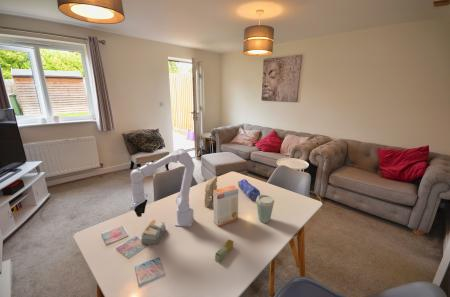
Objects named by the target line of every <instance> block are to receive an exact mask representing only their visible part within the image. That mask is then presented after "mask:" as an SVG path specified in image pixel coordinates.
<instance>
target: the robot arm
mask: <svg viewBox="0 0 450 297" xmlns="http://www.w3.org/2000/svg"><path fill="white" fill-rule="evenodd" d="M169 163H175V164H178V163H180V165H183V166H184V171H183V175H182V181H181V186H180V191H179V193H178V196H177V197H176V198H175V203H176V205H177V206H176V209H175V211H176V222H175V223H174V226H175V227H187V228H188V227H189V228H191V227H192V224H193V222H194V220H195V216H194V209H193V208H190V196H189V195H190V190H191V185H192V181H193V175H194V172H195V168H196V167H195V163H194V161H193V159H192V156H191V155H190V154H189V153H188V151H186V150H185V149H184V148H178V149H177V150H174V151H172V152H171V153H168V154H167V155H165V156H164V157H162V158H160V159H158V160H157V161H156V162H152V161H150V162H146V163H145V164H144V165H142V166H138V167H137V168H135V169H132V170H131V171H130V174H129V175H130V176H129V179H130V182H131V192H132V199H131V204H130V206H129V209H130V211H134V212H135V215H136V216H137V217H138V218H141V217H142V215H143V214H145V211H146V208H147V207H146V206H147V203H148V199H147V197H148V192H145V185H144V182H143V179H144V178H147V177H148V176H151V175H153V174H154V173H156V172H157V170H158V169H159V168H162V167H164V166H166V165H168V164H169Z"/></svg>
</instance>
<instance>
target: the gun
mask: <svg viewBox="0 0 450 297" xmlns="http://www.w3.org/2000/svg"><path fill="white" fill-rule="evenodd" d="M217 182H218V176H216V175H214V176H213V177H211V179H210V180H209V181H208V182H206V184H205V190H204V192H205V194H204V207H207V208H209V207H210V205H211V203H212V201H211V200H213V190H217V189H218V185H217Z"/></svg>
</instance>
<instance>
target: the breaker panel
mask: <svg viewBox="0 0 450 297" xmlns="http://www.w3.org/2000/svg"><path fill="white" fill-rule="evenodd" d="M159 222H160V221H159ZM160 223H162V226H161V228H158V227H151V226H149V224H148V225H147V226H149V227H151V228H153V229H155V230H157V231H158V232H157V234H156V235H147V234H145V233H144V231H143V232H142V233H141V239H140V240H141V244H143V245H144V244H146V245H158V243H159V242H160V240H161V238H162V236H163V234H164V233H165V232H166V225H165V222H162V221H161V222H160Z"/></svg>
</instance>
